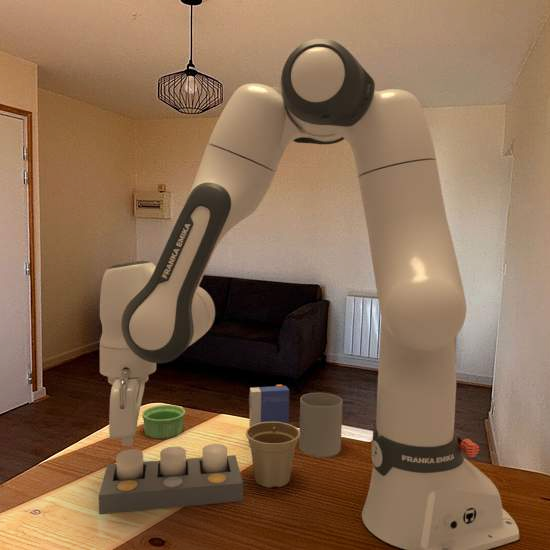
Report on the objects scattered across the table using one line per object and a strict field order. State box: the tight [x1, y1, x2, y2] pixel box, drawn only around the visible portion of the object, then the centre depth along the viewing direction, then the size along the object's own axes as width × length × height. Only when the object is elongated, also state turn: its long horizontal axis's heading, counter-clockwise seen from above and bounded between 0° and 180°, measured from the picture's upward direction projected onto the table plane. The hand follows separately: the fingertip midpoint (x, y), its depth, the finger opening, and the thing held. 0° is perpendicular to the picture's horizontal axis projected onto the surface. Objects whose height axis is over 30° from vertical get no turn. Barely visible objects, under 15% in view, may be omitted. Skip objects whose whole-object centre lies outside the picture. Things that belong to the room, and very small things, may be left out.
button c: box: [116, 448, 144, 480], centre depth 81 cm, size 4×4×3 cm
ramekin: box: [141, 404, 186, 440], centre depth 105 cm, size 9×9×4 cm
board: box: [98, 454, 244, 515], centre depth 81 cm, size 22×10×3 cm, turn 102°
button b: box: [159, 446, 187, 477], centre depth 83 cm, size 4×4×3 cm
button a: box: [201, 443, 228, 474], centre depth 84 cm, size 4×4×3 cm
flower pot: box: [245, 422, 300, 489], centre depth 86 cm, size 9×9×9 cm
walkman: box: [248, 384, 290, 450], centre depth 100 cm, size 8×3×12 cm, turn 104°
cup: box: [298, 392, 343, 458], centre depth 99 cm, size 8×8×10 cm
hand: (128, 442), depth 81 cm, fingers closed
